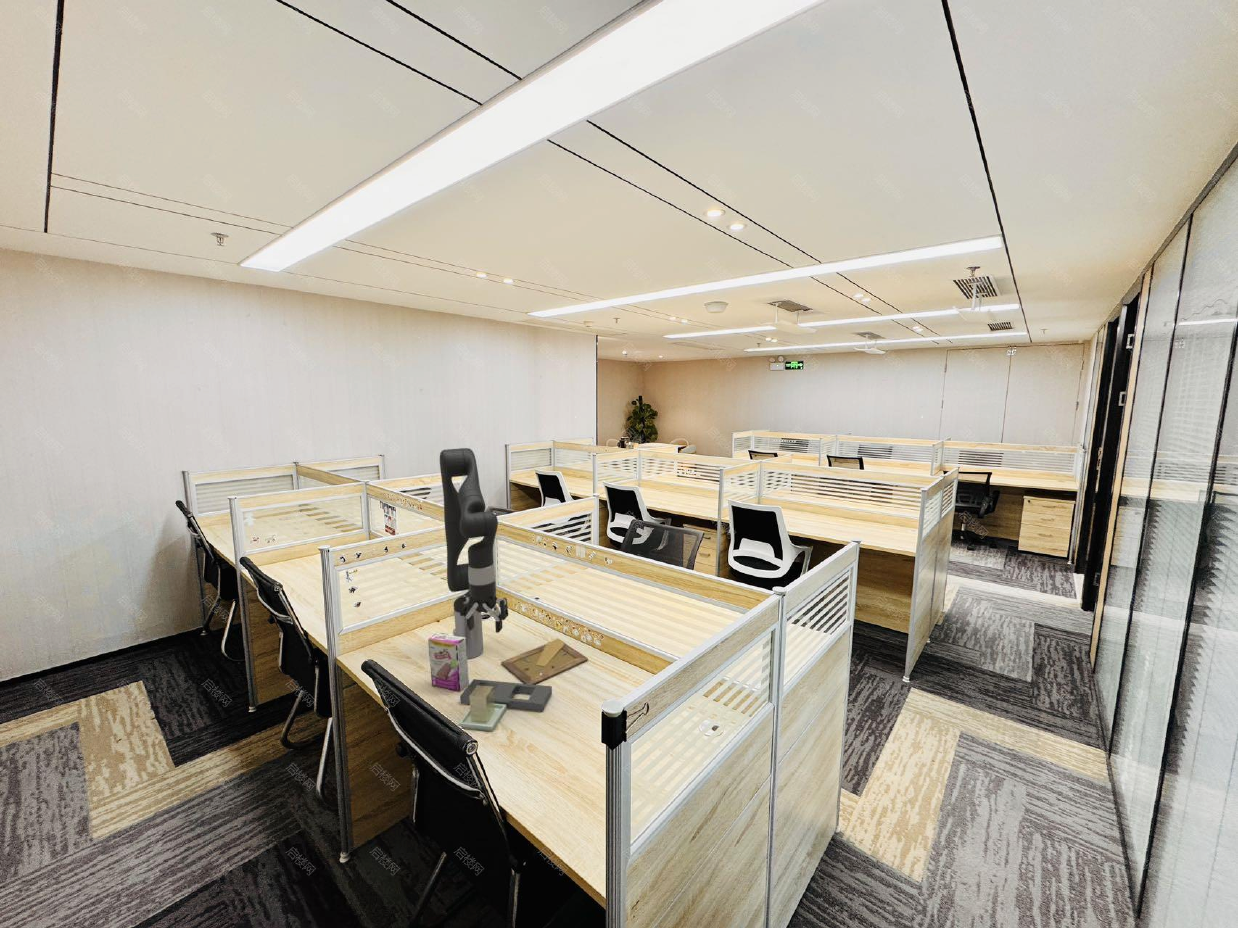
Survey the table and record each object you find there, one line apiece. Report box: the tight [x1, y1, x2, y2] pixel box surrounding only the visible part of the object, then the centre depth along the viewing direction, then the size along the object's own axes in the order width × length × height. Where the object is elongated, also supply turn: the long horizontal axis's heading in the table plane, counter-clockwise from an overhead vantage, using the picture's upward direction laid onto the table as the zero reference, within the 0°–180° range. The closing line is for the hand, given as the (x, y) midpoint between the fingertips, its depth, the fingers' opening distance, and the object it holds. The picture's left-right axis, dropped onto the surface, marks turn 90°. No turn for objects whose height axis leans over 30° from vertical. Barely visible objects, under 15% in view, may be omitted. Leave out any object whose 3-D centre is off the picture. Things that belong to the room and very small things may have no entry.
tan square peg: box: [469, 685, 495, 723], centre depth 146 cm, size 5×5×8 cm
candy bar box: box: [427, 632, 470, 692], centre depth 162 cm, size 11×5×16 cm, turn 71°
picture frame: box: [500, 638, 589, 685], centre depth 175 cm, size 19×2×24 cm
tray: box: [458, 704, 508, 733], centre depth 146 cm, size 10×10×2 cm
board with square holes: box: [459, 678, 553, 713], centre depth 155 cm, size 26×9×2 cm, turn 80°
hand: (485, 630), depth 151 cm, fingers open, 8 cm apart
